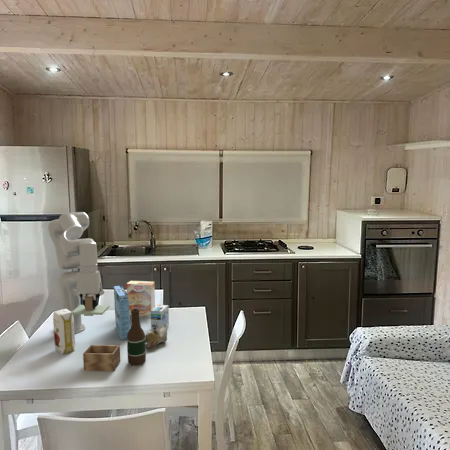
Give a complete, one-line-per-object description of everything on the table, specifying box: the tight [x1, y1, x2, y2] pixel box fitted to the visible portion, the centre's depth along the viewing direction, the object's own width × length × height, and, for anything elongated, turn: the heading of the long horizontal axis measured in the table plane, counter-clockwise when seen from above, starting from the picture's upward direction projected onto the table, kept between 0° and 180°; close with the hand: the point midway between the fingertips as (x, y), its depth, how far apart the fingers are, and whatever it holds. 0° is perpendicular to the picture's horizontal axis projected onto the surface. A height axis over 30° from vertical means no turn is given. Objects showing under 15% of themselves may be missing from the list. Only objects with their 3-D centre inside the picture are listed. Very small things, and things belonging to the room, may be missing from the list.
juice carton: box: [52, 309, 76, 355], centre depth 191 cm, size 8×9×19 cm
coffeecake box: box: [126, 280, 156, 317], centre depth 239 cm, size 15×7×20 cm, turn 81°
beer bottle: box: [126, 309, 147, 367], centre depth 178 cm, size 8×8×24 cm
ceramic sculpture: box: [145, 326, 168, 349], centre depth 198 cm, size 11×9×15 cm
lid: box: [71, 294, 110, 317], centre depth 186 cm, size 14×10×8 cm
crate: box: [82, 344, 121, 372], centre depth 176 cm, size 13×9×8 cm
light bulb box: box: [150, 304, 170, 331], centre depth 220 cm, size 11×7×11 cm, turn 168°
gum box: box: [113, 285, 131, 341], centre depth 211 cm, size 20×5×23 cm, turn 23°
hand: (90, 307), depth 187 cm, fingers closed on lid, 3 cm apart
